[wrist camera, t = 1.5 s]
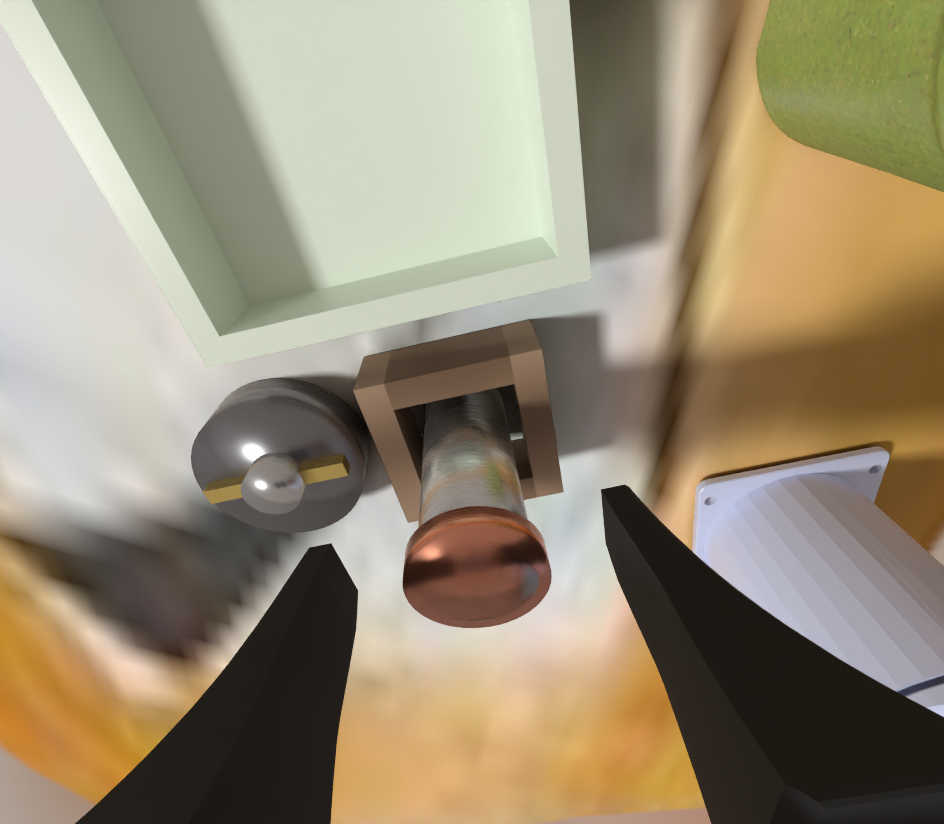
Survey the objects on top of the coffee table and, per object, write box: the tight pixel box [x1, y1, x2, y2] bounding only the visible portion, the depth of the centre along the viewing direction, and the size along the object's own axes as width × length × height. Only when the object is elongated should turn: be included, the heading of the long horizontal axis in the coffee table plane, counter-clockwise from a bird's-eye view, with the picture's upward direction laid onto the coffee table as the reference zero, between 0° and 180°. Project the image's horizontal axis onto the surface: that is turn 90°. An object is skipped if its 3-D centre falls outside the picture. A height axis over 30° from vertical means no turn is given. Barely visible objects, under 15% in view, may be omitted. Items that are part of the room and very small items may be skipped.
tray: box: [0, 0, 591, 368], centre depth 11 cm, size 11×11×3 cm
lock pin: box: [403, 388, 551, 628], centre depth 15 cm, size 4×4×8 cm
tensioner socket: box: [353, 320, 563, 523], centre depth 17 cm, size 6×6×2 cm
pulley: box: [191, 379, 369, 533], centre depth 17 cm, size 6×6×3 cm
